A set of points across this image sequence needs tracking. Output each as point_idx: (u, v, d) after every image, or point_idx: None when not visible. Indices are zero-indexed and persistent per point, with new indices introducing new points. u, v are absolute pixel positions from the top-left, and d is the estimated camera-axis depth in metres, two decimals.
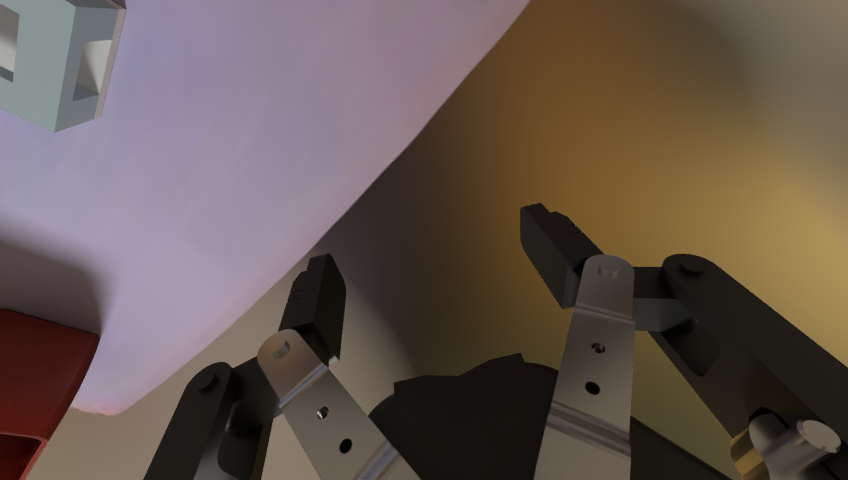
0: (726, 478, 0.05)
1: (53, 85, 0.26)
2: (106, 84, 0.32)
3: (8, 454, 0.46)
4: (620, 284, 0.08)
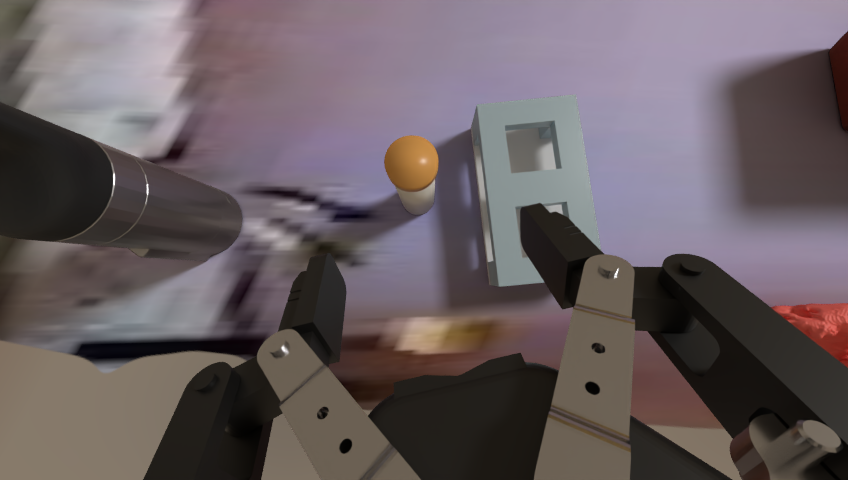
0: (726, 478, 0.05)
1: (538, 102, 0.37)
2: None
3: None
4: (620, 284, 0.08)
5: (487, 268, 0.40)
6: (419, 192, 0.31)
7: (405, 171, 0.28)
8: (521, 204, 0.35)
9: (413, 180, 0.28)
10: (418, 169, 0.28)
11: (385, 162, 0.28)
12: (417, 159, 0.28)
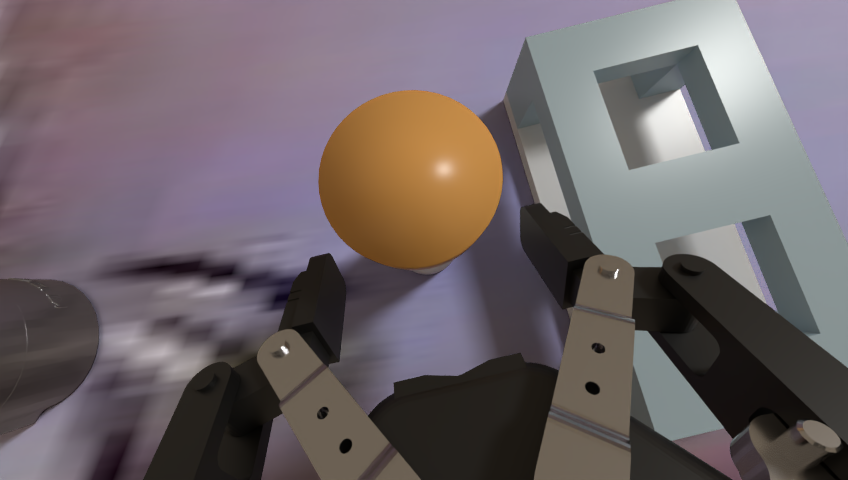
0: (725, 478, 0.05)
1: (654, 14, 0.17)
2: None
3: None
4: (620, 284, 0.08)
5: None
6: None
7: (394, 212, 0.08)
8: (668, 236, 0.16)
9: (426, 240, 0.08)
10: (437, 199, 0.08)
11: (322, 191, 0.08)
12: (429, 166, 0.08)
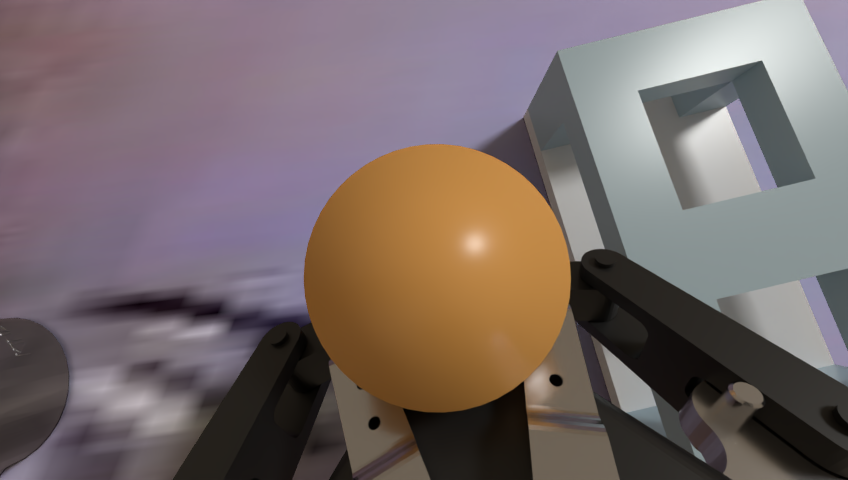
0: (726, 478, 0.05)
1: (709, 23, 0.15)
2: None
3: None
4: None
5: None
6: None
7: (413, 325, 0.06)
8: (731, 291, 0.13)
9: (460, 369, 0.05)
10: (476, 307, 0.06)
11: (309, 292, 0.06)
12: (463, 256, 0.06)
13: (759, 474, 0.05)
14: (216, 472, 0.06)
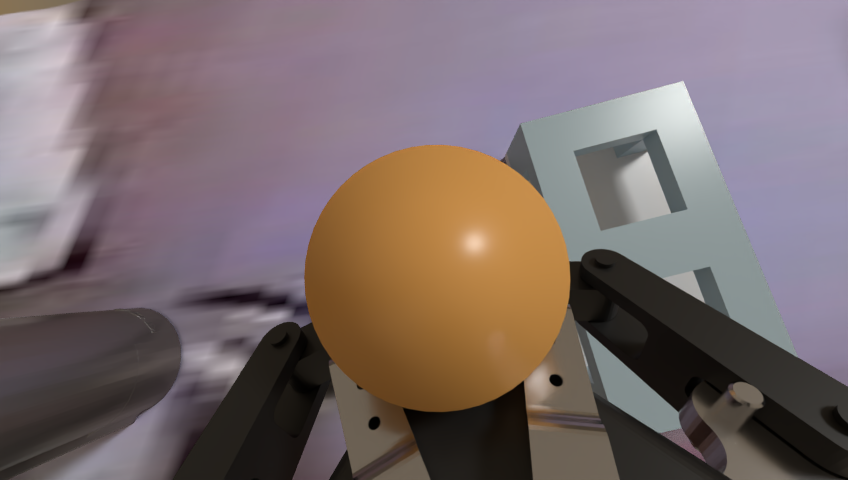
0: (726, 478, 0.05)
1: (622, 104, 0.22)
2: None
3: None
4: None
5: None
6: None
7: (413, 325, 0.06)
8: None
9: (460, 369, 0.05)
10: (476, 307, 0.06)
11: (310, 293, 0.06)
12: (463, 256, 0.06)
13: (759, 473, 0.05)
14: (216, 472, 0.06)
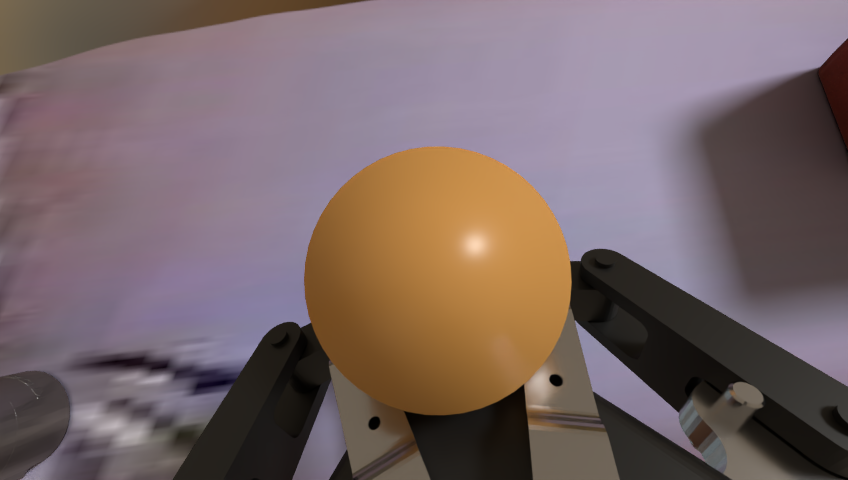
0: (726, 478, 0.05)
1: None
2: None
3: None
4: None
5: None
6: None
7: (413, 328, 0.06)
8: None
9: (461, 372, 0.05)
10: (476, 310, 0.06)
11: (309, 295, 0.06)
12: (463, 259, 0.06)
13: (759, 474, 0.05)
14: (216, 472, 0.06)
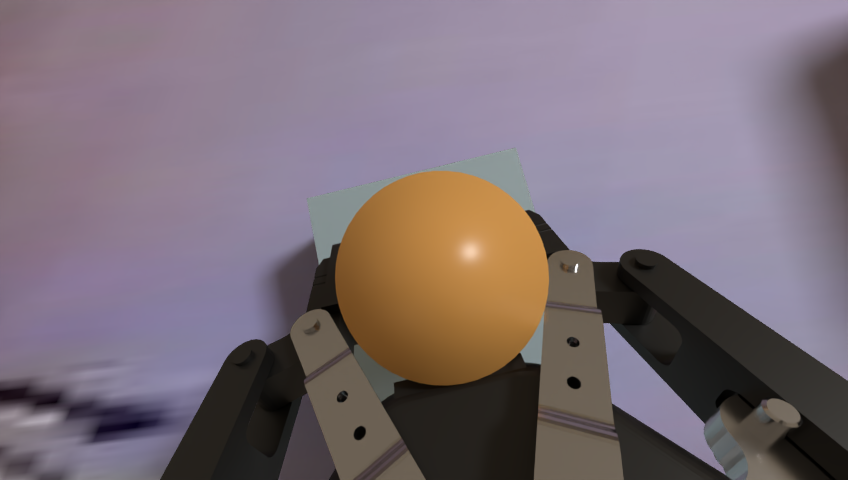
0: (726, 478, 0.05)
1: None
2: None
3: None
4: (578, 278, 0.08)
5: None
6: None
7: (423, 317, 0.07)
8: None
9: (461, 351, 0.07)
10: (474, 302, 0.07)
11: (339, 290, 0.07)
12: (463, 261, 0.07)
13: None
14: None
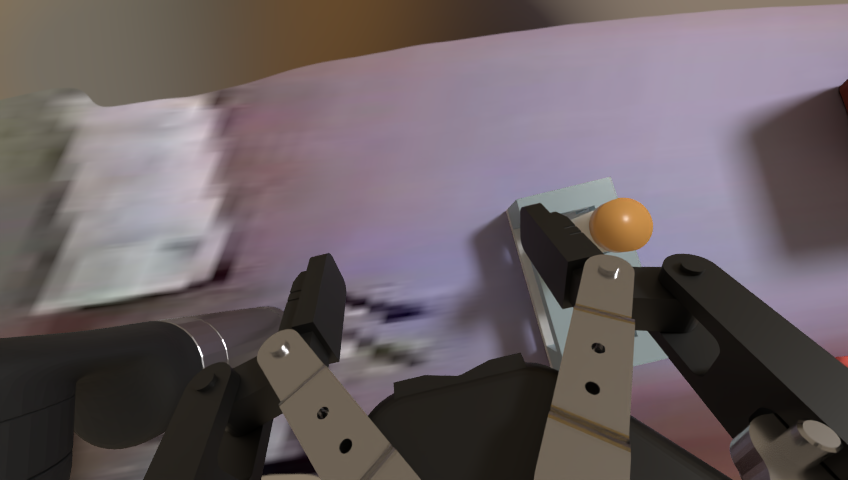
0: (726, 478, 0.05)
1: (575, 189, 0.38)
2: None
3: None
4: (620, 284, 0.08)
5: (546, 350, 0.41)
6: None
7: (620, 235, 0.28)
8: None
9: (631, 243, 0.28)
10: (633, 231, 0.28)
11: (599, 228, 0.28)
12: (630, 221, 0.28)
13: None
14: None
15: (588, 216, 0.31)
